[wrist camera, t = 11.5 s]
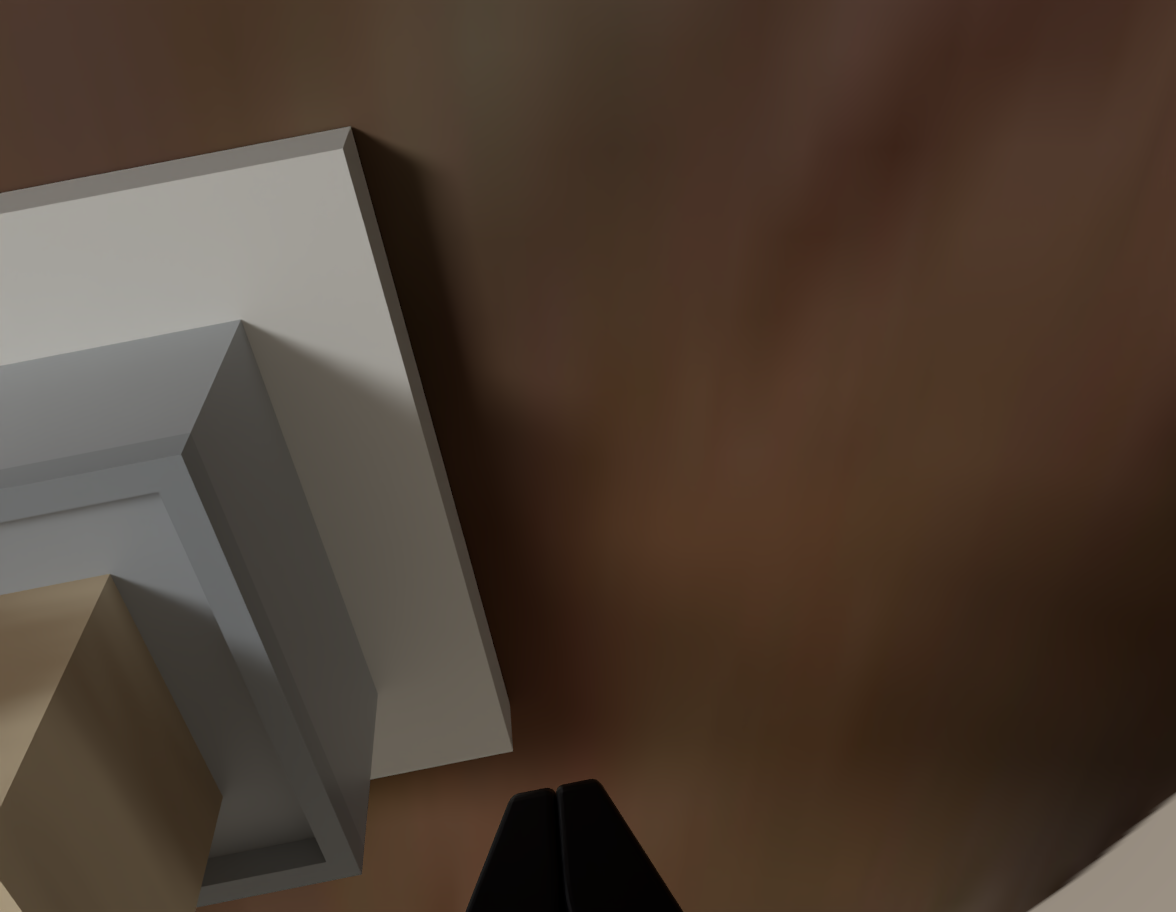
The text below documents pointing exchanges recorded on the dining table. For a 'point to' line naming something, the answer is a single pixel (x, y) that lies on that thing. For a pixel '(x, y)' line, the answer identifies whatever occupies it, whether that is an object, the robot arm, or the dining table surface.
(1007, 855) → the dining table surface
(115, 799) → the snap block
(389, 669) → the grey square base plate
